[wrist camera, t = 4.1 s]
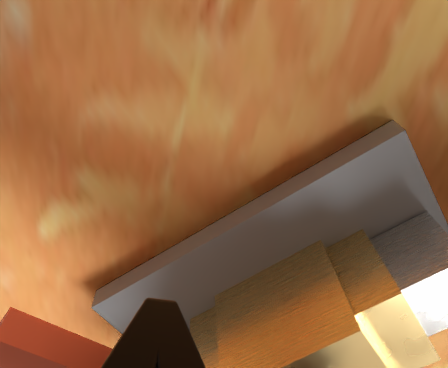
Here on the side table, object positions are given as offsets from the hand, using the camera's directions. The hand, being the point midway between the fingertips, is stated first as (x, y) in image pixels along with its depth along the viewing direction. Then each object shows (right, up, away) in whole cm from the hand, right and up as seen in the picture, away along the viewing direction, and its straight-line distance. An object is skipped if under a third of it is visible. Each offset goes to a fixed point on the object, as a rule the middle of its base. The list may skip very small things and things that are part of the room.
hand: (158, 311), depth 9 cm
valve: (+4, -2, +10) cm, 11 cm away
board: (+4, -2, +10) cm, 11 cm away
